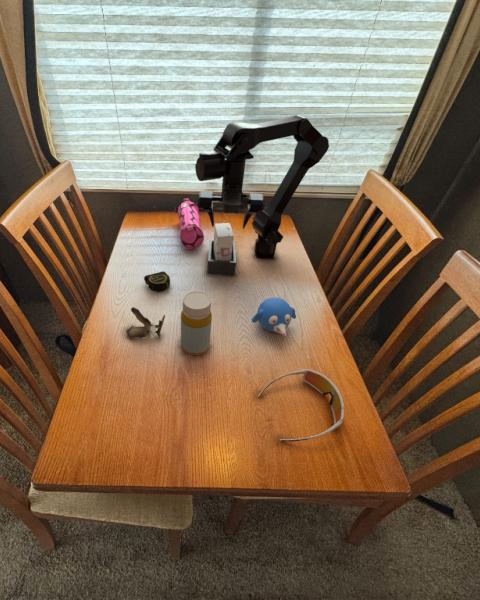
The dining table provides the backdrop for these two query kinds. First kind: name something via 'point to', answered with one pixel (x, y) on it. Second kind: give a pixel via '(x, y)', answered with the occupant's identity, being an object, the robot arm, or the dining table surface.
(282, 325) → the blue mole toy
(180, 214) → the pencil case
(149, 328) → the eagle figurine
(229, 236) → the ink box
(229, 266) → the holder
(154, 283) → the tape measure
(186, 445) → the dining table surface
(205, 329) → the bottle
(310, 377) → the sunglasses
